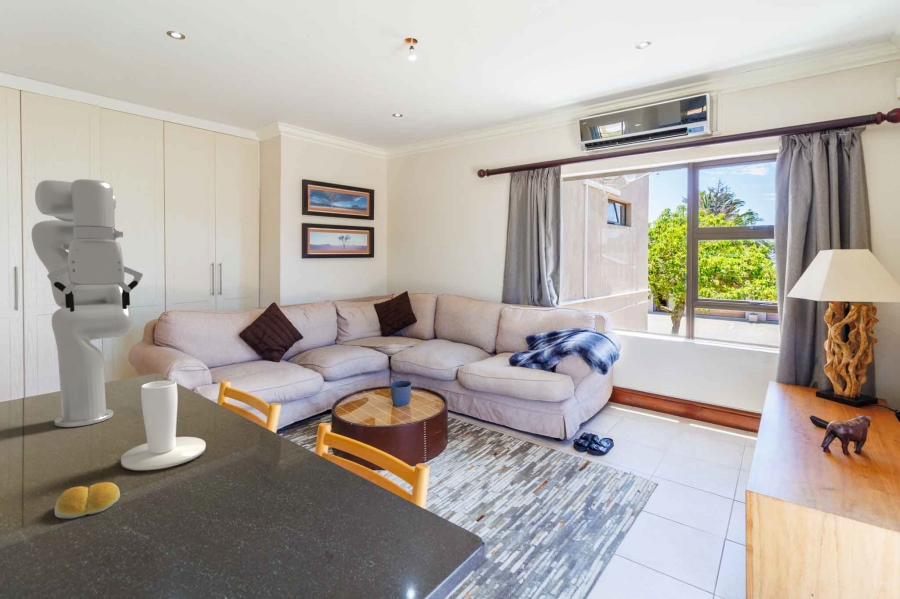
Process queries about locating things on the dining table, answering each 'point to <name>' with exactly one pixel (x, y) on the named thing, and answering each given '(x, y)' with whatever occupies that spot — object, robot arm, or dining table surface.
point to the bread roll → (86, 500)
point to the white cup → (160, 415)
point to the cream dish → (163, 455)
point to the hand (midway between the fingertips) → (99, 310)
